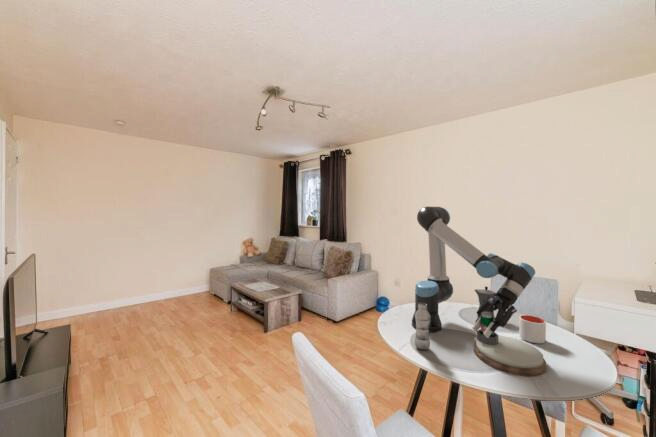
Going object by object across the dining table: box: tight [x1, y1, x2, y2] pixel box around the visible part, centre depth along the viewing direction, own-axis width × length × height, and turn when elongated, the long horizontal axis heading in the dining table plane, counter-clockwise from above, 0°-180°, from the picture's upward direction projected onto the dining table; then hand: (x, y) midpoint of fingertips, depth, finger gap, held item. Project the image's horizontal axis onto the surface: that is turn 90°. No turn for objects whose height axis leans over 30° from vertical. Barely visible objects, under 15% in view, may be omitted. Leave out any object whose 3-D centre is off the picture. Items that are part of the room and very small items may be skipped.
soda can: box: [480, 311, 495, 337], centre depth 116 cm, size 5×5×12 cm
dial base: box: [473, 341, 547, 377], centre depth 111 cm, size 25×25×2 cm
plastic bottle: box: [414, 303, 431, 351], centre depth 118 cm, size 6×7×20 cm
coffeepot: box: [474, 286, 497, 320], centre depth 153 cm, size 15×9×18 cm, turn 37°
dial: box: [473, 328, 544, 369], centre depth 111 cm, size 25×23×5 cm
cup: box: [518, 314, 547, 344], centre depth 127 cm, size 10×10×10 cm
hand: (479, 332), depth 115 cm, fingers open, 5 cm apart
